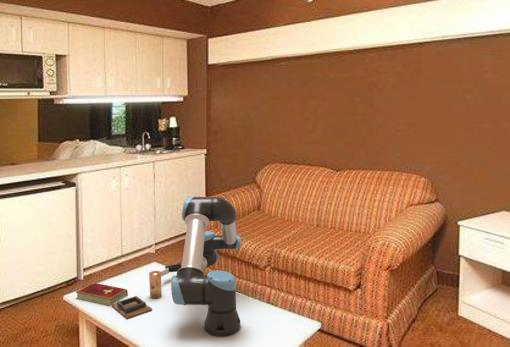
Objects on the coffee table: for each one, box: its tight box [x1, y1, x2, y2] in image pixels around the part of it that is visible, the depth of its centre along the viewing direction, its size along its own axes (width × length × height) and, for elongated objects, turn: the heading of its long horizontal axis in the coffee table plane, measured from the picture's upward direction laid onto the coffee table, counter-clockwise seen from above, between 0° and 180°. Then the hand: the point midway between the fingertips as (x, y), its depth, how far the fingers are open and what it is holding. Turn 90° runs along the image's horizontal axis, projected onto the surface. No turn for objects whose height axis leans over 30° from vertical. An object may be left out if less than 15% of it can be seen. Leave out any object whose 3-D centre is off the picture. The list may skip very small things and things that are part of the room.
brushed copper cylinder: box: [148, 270, 163, 300], centre depth 206 cm, size 6×6×12 cm
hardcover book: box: [75, 282, 129, 307], centre depth 207 cm, size 12×21×4 cm, turn 67°
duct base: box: [111, 295, 153, 320], centre depth 195 cm, size 16×12×3 cm
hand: (168, 277), depth 214 cm, fingers open, 13 cm apart
